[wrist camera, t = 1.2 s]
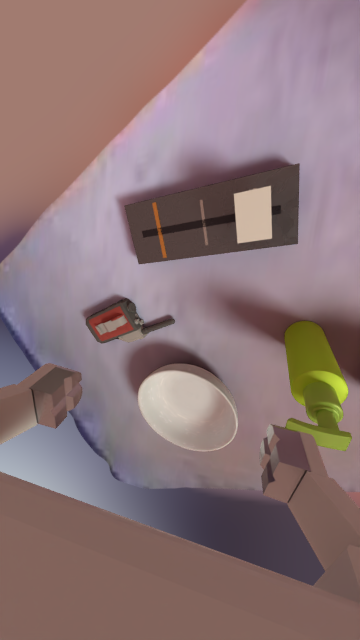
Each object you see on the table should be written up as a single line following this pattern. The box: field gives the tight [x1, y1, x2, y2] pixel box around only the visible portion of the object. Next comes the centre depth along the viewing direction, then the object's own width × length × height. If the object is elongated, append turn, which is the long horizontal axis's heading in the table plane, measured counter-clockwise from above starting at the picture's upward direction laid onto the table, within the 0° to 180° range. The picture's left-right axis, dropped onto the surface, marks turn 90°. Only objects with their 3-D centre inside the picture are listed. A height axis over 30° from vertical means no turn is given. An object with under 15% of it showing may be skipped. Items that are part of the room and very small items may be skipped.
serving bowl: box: [138, 364, 238, 451], centre depth 49 cm, size 21×21×7 cm
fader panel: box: [125, 164, 299, 264], centre depth 34 cm, size 24×9×3 cm, turn 101°
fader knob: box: [234, 186, 272, 243], centre depth 27 cm, size 4×5×7 cm
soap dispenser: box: [284, 321, 352, 451], centre depth 30 cm, size 6×7×20 cm
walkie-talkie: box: [86, 299, 175, 343], centre depth 47 cm, size 9×4×20 cm
